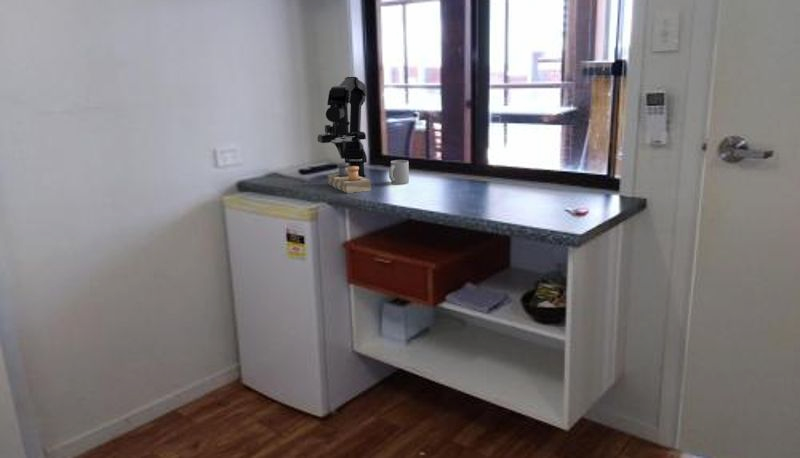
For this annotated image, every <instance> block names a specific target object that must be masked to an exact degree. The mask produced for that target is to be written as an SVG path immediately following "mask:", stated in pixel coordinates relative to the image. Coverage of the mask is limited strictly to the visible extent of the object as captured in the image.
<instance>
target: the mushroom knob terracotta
mask: <svg viewBox="0 0 800 458" xmlns="http://www.w3.org/2000/svg"><path fill="white" fill-rule="evenodd" d="M347 170H348V176H349V181H358V170H359V167H358V166H349V167H347Z"/></svg>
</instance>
